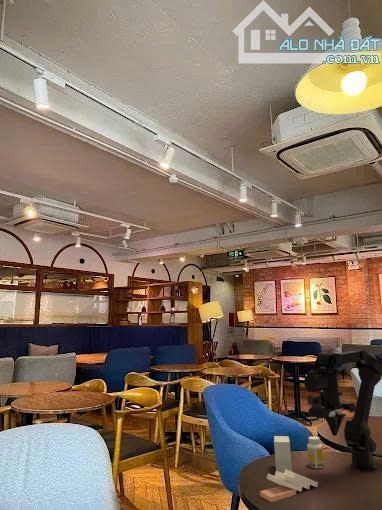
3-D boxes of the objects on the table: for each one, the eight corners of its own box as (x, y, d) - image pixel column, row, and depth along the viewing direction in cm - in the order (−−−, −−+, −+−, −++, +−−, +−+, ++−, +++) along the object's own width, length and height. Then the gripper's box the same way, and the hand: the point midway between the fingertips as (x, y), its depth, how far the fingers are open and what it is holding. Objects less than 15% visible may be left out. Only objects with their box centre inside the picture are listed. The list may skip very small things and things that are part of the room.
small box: (292, 474, 134) (290, 442, 136) (276, 473, 135) (274, 441, 137) (291, 466, 142) (288, 435, 144) (275, 465, 143) (273, 435, 145)
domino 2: (284, 484, 122) (260, 491, 117) (295, 490, 118) (270, 497, 113) (284, 489, 122) (260, 496, 117) (296, 495, 118) (271, 502, 113)
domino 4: (306, 477, 127) (285, 468, 124) (318, 482, 123) (295, 473, 120) (305, 482, 127) (283, 473, 123) (317, 487, 122) (294, 478, 119)
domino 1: (292, 481, 124) (267, 473, 121) (302, 486, 120) (277, 478, 117) (290, 486, 124) (266, 478, 121) (301, 491, 119) (276, 483, 116)
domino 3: (299, 479, 126) (275, 470, 123) (310, 484, 121) (285, 475, 118) (298, 484, 125) (274, 475, 122) (308, 489, 121) (284, 480, 118)
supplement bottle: (324, 464, 143) (321, 436, 145) (324, 469, 138) (321, 440, 139) (309, 463, 144) (306, 435, 146) (308, 468, 139) (306, 439, 141)
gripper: (329, 383, 148) (333, 426, 145) (295, 388, 139) (298, 434, 136) (354, 387, 139) (359, 433, 136) (319, 392, 129) (323, 442, 126)
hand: (334, 435), depth 134 cm, fingers closed
